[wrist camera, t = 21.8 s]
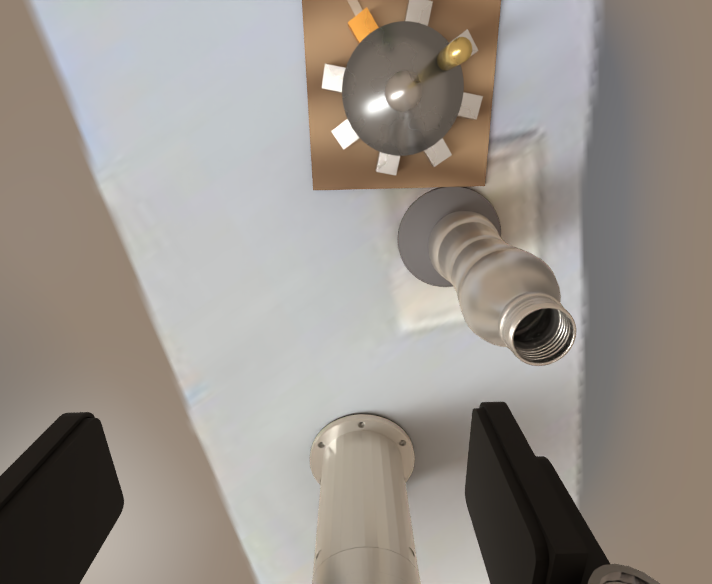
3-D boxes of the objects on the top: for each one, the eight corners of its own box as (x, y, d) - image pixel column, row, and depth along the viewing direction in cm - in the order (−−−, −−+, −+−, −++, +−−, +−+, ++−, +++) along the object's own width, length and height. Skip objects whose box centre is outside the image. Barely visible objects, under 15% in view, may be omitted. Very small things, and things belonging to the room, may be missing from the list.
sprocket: (508, 51, 35) (538, 37, 29) (430, 197, 40) (444, 209, 34) (364, -32, 33) (367, -65, 27) (299, 132, 37) (290, 134, 32)
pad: (493, 283, 44) (495, 285, 43) (397, 286, 44) (397, 288, 43) (504, 184, 40) (506, 185, 39) (398, 187, 40) (398, 188, 39)
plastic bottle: (486, 199, 40) (603, 265, 21) (493, 265, 42) (604, 376, 24) (419, 214, 40) (476, 291, 22) (430, 279, 43) (490, 398, 24)
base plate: (483, 185, 40) (485, 186, 39) (313, 189, 40) (313, 190, 39) (500, -19, 34) (503, -21, 33) (301, -14, 34) (300, -16, 33)
